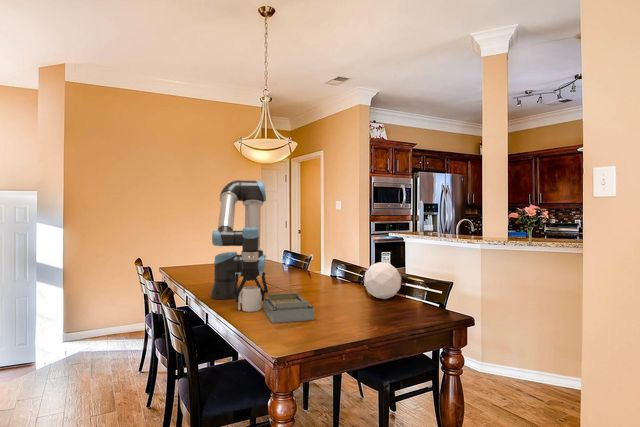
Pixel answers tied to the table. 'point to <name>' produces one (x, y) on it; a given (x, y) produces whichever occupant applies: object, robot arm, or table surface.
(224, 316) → the table surface
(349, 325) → the table surface
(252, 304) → the cup
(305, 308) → the silver and gold block
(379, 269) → the geometric sphere
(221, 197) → the robot arm
